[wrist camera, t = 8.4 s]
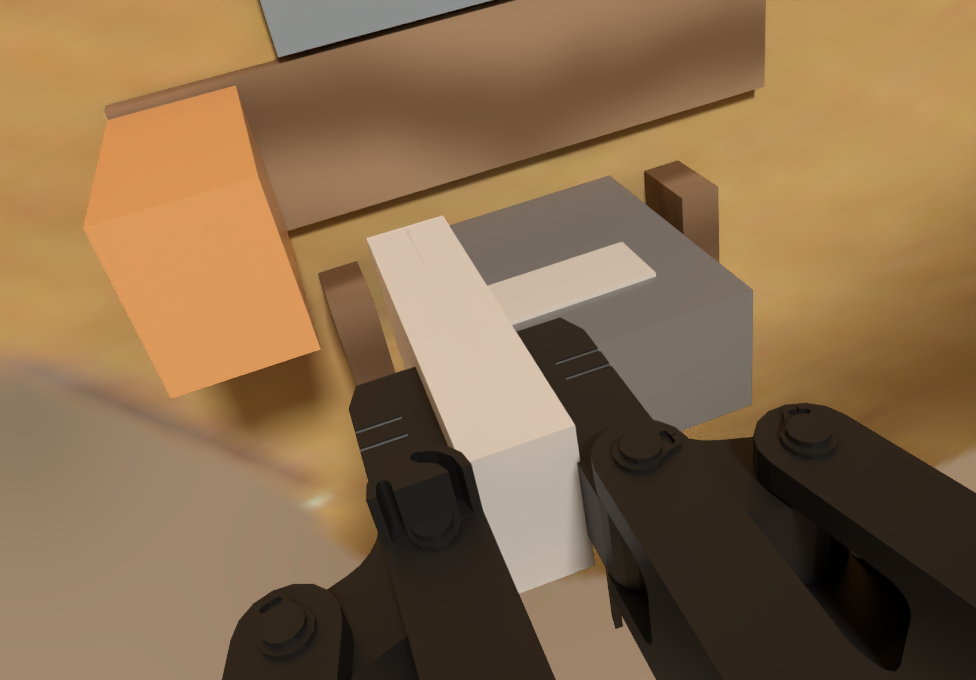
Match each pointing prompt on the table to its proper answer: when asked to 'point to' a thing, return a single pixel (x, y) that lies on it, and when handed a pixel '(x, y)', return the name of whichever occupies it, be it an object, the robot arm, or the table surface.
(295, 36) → the mat
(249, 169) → the orange rectangular block
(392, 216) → the table surface
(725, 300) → the block
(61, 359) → the table surface
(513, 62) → the cradle
